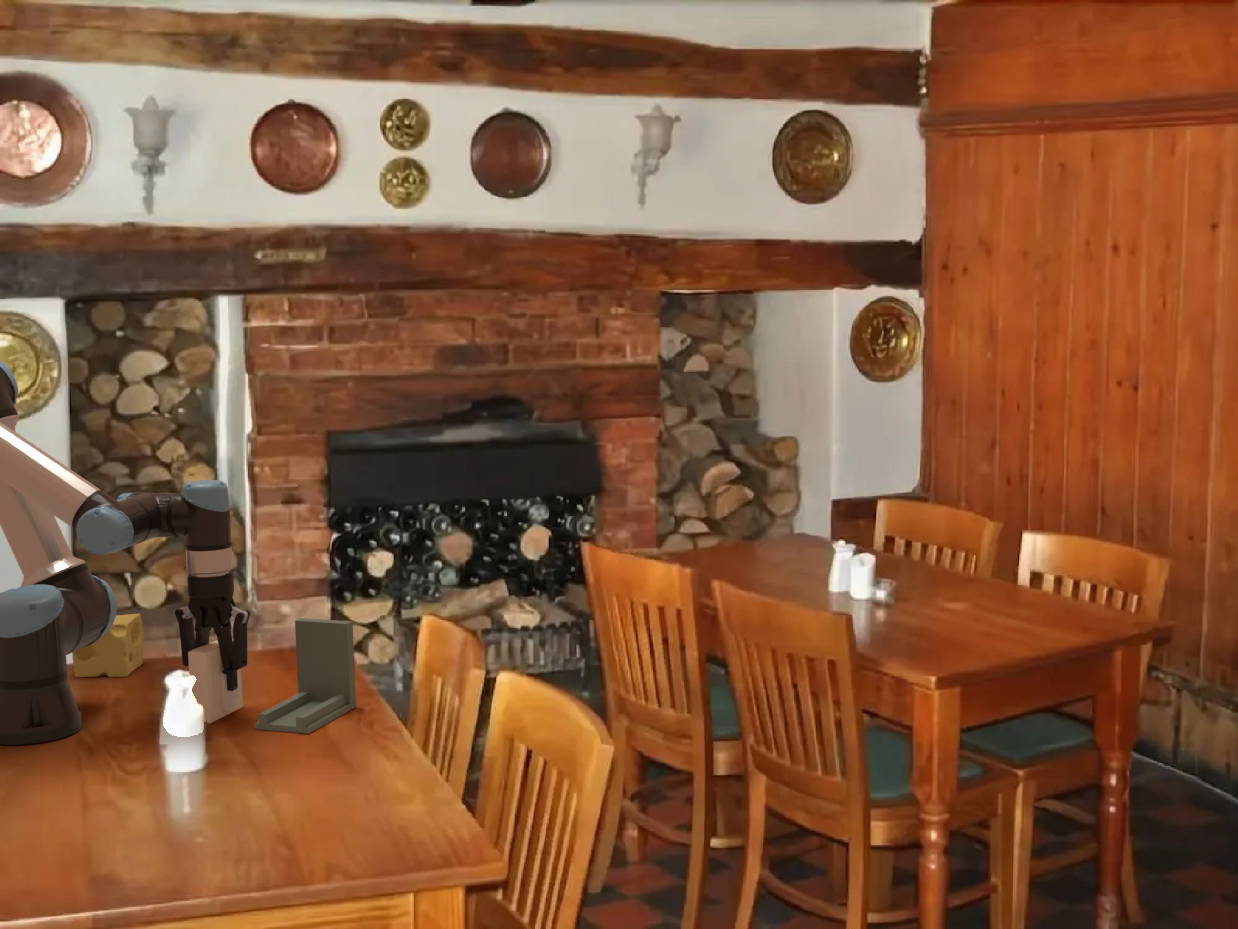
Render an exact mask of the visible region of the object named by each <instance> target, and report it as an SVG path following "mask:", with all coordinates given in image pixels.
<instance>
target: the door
mask: <svg viewBox="0 0 1238 929" xmlns="http://www.w3.org/2000/svg"><path fill="white" fill-rule="evenodd" d="M232 640H233V638H232ZM188 660H189V666H188V675H189V674H190V675H194V676H195V677H196V679H197V680H196V682H195V684H194V686H193V688H192V692H193V694H194V696H195V698H196V699H197V702H199V703H200V704H201V705H203V707H204V710H205V716H206V720H207V723H206V724H212V723H214V722H216V721H218V720H219V719H222V718H223V717H226V716H228V715H230V714H231V713H233V712H235V711H237V710H240V709H242V708H243V707H244V702H243V686H242V682H243V681H242V668H241V669H239V670H237V683H238V687H237V689H236V690H234V697H235V707H234V708H232V709H230V710H228V711H222V696H221V677H220V673H222V671H223V670H224V666H223V662H222V657H221V653H220V648H219V644H218V639H216V640H214V641H211V642H209V643H208V644H206V645H203V646H201V647H199V648H196V649H194V650H191V651H189V652H188Z"/></svg>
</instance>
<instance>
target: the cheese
mask: <svg viewBox="0 0 1238 929" xmlns="http://www.w3.org/2000/svg"><path fill="white" fill-rule="evenodd" d="M143 627H144V626H143V620H142V615H141V613H129V614H119V615H118V614H116V618H115V620H114V623H113V625H112V627H111V629H110V630H109V631H108V632H107V633H106V634H105V635H104V636H103V637H102V638H100V639H99V640H97V641H96V642H95V643H93V644H91V645H89V646H87V647H84V648H81V649H79V650H76V651H74V652H72V653H71V654H72V665H73V671H74V672H73V673H74V677H75V678H95V677H101V676H107V677H108V678H109V677H110V678H127V677H128V676H130V674H131V673H132V672H133V671H135V670H136V669H138V668H139V667H141V665H143V659H144V628H143Z"/></svg>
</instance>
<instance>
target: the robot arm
mask: <svg viewBox="0 0 1238 929" xmlns="http://www.w3.org/2000/svg"><path fill="white" fill-rule="evenodd" d="M18 396H19V387H18V383H17V379H16V377H15V375H14V373H13V372H12V370H11V369H10V368H9V367H8V366H7V364H5V363H4V362H3V361H1V360H0V528H1V530H2V532H3V534H4V536H5V538H6V541H7V543H8V545H9V548H10V550H11V552H12V554H13V555H14V558H15V560H16V563H17V565H18V566H19V569H20V571H21V574H22V575H23V579H22V582H21V584H20V586H18V587H17V588H9V589H6V590H4V591H2V592H0V745H12V746H13V745H14V746H15V745H16V746H17V745H19V746H20V745H32V744H38V743H46V742H50V741H55V740H59V739H63V738H66V737H68V736H71V735H74V734H75V733H77V732H79V731H80V730H81V729H82V727H83V726H82V725H83V720H82V712H81V710H80V708H79V707H78V706H77V705H78V704H77V703H76V700H75V699H76V698H75V697H74V695H73V691H72V689H71V687H70V684H69V680H68V666H67V662H68V661H67V656H68V655H70V654H72V652H74V651H76V650H79V649H81V648H84V647H87V646H89V645H91V644H93V643H95V642H96V641H97V640H99V639H100V638H102V637H103V636H104V635H105V634H106V633H107V632H108V631H109V630H110V629H111V627H112V625H113V623H114V620H115V618H116V615H117V611H118V608H117V607H118V605H117V599H116V596H115V593H114V591H113V589H112V587H111V586H110V584H108V582H107V581H105V580H104V579H101V578H99V577H98V576H96V575H93V574H92V573H91V571H90V568H89V566H88V564H87V562H86V561H85V560H84V559H81V558H78V557H76V556H74V555H73V554H72V551H71V549H70V547H69V546H68V543H67V541H66V538H65V537H64V534H63V532H62V529H61V527H60V525H59V523H58V521H57V519H59V520H60V521H62V522H64V523H65V524H66V525H68V526H69V527H71V528H72V529H73V530H75V531H76V537H77V539H78V541H79V543H80V545H81V547H82V548H83V549H84V550H86V551H87V552H88V553H91V554H94V555H100V556H101V555H102V556H103V555H109V554H113V553H119V552H123V550H125V549H127V548H129V547H132V546H135V545H138V544H140V543H144V542H146V541H149V540H152V539H156V538H177V539H178V538H180V539H181V538H184V542H185V543H184V544H185V545H184V546H185V564H186V572H188V573H189V575H188V576H187V577H186V579H187V581H186V582H187V583H186V584H187V594H188V596H189V601H188V603H187V606H181V607H180V608H176V609H175V610H174V614H175V617H176V621H177V622H178V629H179V639H180V649H181V650H180V651H181V659H182V665H183V666H184V667H189V660H188V652H189V651H191V650H194V649H196V648H199V647H201V646H203V645H206V644H208V643H210V637H211V636H210V634H211V630H213V633H214V634H215V635H216V638H217V639H216V640H218V644H219V648H220V653H221V657H222V662H223V666H224V670H223V671H222V673H220V677H221V696H222V711H228V710H230V709H232V708H234V707H235V697H234V690H236V689H237V687H238V683H237V670H239V669H241V670H242V668H245V667H247V666H248V623H249V619H250V616H251V612H250V610H248V609H246V610H242V609H240V608H239V607H237V606H236V603H235V601H234V592H235V585H234V584H235V583H234V582H235V580H234V573H233V572H232V569H233V565H234V564H233V549H232V546H233V545H232V534H231V532H232V531H231V528H232V526H231V507H232V506H231V504H230V495H229V488H228V485H227V484H226V482H224V481H223V480H219V479H203V480H202V479H198V480H197V479H196V480H191V481H187V482H184V483H183V485H182V487H181V488H182V489H181V492H176V493H175V492H172V493H171V492H144V491H136V492H125V493H121V494H120V495H119V496H117V497H116V499H115V498H113V497H112V496H110V495H109V494H108V493H106V492H105V491H103V490H102V489H100V488H98V487H97V486H95V485H94V484H93V483H92V482H90V481H89V480H87V479H85V478H84V477H83V476H81V475H80V474H78V473H77V472H75V471H73V470H72V469H71V468H69V467H68V466H66V465H65V464H63V463H62V462H60V461H59V460H57V458H55V457H53V456H52V455H50V454H48V453H47V452H46V451H44V450H43V449H42V448H40V447H38V446H37V445H35V444H34V443H33V442H31V441H29V440H28V439H27V438H25V437H24V436H22V435H21V434H19V433H17V432H16V426H17V424H18V421H19V419H20V416H19V414H18V411H17V409H16V404H17V397H18ZM193 618H194V619H193ZM231 618H232V619H231ZM194 620H195V622H194ZM231 620H232V622H233V626H232V624H231V623H232V622H231ZM212 628H213V629H212ZM232 635H233V636H232ZM232 639H233V640H232Z"/></svg>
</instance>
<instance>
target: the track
mask: <svg viewBox="0 0 1238 929" xmlns="http://www.w3.org/2000/svg"><path fill="white" fill-rule="evenodd" d="M353 623H354V621H351V620H337V619H335V620H334V619H318V618H305V617H304V618H303V617H300V618H298V619H296V620H294V625H295V626H294V630H295V648H296V649H295V650H296V673H297V693H296V694H294V695H292V696H290V697H289V698H286V699H285V700H283V701H281V702H278V703H277V704H275V705H273V706H271V707H269V708H267V709H266V710H263V711H261V712H260V713H258V714H257V715H258V717H257V718H258V720H257V721H256V722H254V730H261V731H271V732H273V731H274V732H282V733H283V732H286V733H294V734H295V733H296V734H305V735H306V734H308V735H309V734H311V733H312V732H314V731H316V730H318V729H320V728H323V727H324V726H325V725H327V724H329V723H330V722H332V721H334V720H336V719H338V718H340V717H341V716H343V715H345V714H347V713H348V712H350V711H352V710H353V709H355V708H357V697H356V695H357V694H356V693H357V692H356V673H355V671H356V669H355V668H356V667H355V648H354V646H355V645H354V626H353Z"/></svg>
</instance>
